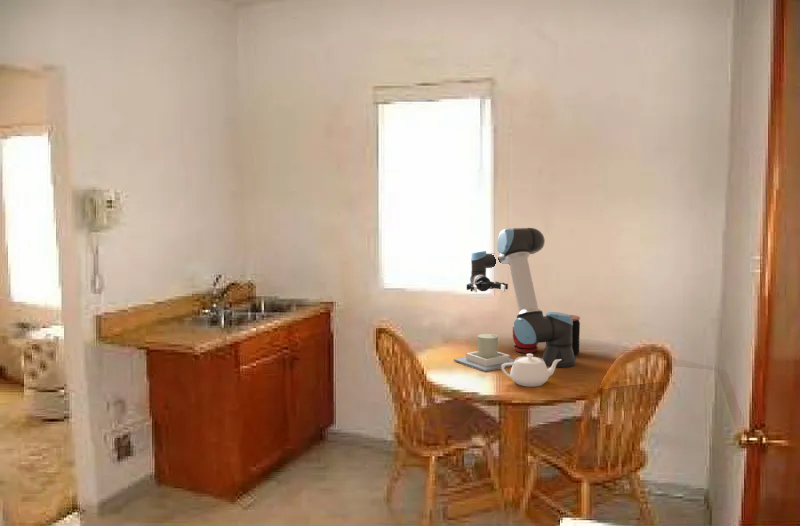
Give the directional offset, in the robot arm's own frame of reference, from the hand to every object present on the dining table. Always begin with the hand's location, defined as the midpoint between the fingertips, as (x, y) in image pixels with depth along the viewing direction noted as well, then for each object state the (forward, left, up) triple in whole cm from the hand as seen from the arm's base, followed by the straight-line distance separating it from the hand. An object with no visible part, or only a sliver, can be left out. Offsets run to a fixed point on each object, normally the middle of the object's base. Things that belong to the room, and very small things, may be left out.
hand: (490, 289), depth 312 cm
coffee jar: (-19, -33, -32) cm, 50 cm away
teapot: (-44, +16, -32) cm, 57 cm away
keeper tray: (-10, +10, -32) cm, 35 cm away
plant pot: (-4, -20, -32) cm, 38 cm away
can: (-10, +10, -31) cm, 34 cm away
